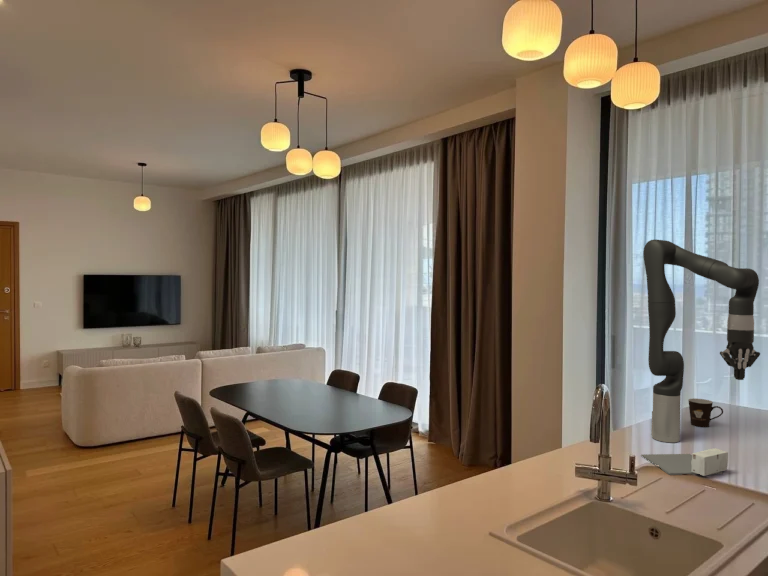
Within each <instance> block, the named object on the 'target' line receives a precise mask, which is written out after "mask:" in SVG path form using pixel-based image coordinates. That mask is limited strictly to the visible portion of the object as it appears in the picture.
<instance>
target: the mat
mask: <svg viewBox="0 0 768 576" xmlns="http://www.w3.org/2000/svg"><path fill="white" fill-rule="evenodd" d="M640 456H641V457H642V456H643V457H644V458H643V457H642V458H643V459H645V458H646V459H647V460H646V459H645V460H646V461H648V460H649V461H651V462H653V463H654V464H656V465H659V467H660V468H661V469H662V470H661V469H660V468H659V469H660V470H661V471H662V472H664V473H666V474H667V475H669V476H683V475H682V474H697V473H694V472H691V469H692V465H691V461H692V453H691V454H690V453H664V454H663V453H660V454H659V453H658V454H656V453H655V454H653V453H652V454H651V453H650V454H648V453H647V454H641V455H640ZM649 461H648V462H649ZM651 462H650V463H651ZM654 464H653V465H654ZM712 475H723V471H721V472H717V473H713V474H712Z"/></svg>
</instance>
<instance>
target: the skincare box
mask: <svg viewBox="0 0 768 576" xmlns="http://www.w3.org/2000/svg"><path fill="white" fill-rule="evenodd" d="M691 455H692V461H691V465H692V469H691V472H694V473H697V474H700V475H699V476H703V477H706V476H708V475H709V476H710V475H714V474H713V473H717V472H723V471H724V472H725V471H727V470H728V463H729V452H728V451H725V450H722V449H719V448H715V447H713V448H710V449H705V450H701V451H697V452H692V453H691Z"/></svg>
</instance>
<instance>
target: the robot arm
mask: <svg viewBox="0 0 768 576" xmlns="http://www.w3.org/2000/svg"><path fill="white" fill-rule="evenodd" d="M643 263H644V269H645V276H646V277H645V278H646V288H647V308H648V309H647V311H648V313H647V314H648V325H649V326H648V327H649V328H648V331H649V335H648V336H649V337H648V339H649V342H648V367H649V371H650V373H651V375H653V376H654V377H655V376H657V377H665V378H664V379H663V380H661V381H659V382H656V383H655V384H654V385H653V386H652V411H651V438H652V439H654V440H656V441H659V442H664V443H678V442H680V438H681V435H680V432H681V399H682V398H681V396H682V395H681V393H682V390H683V384H684V372H685V371H684V370H685V362H684V361H685V360H684V358H683V355H682V354H681V353H680V352H679V351H676V350H664V345H665V344H664V343H665V338H666V335H667V333H668V331H669V329H670V328H671V326H672V325H673V323H674V321H675V319H676V315H677V313H676V312H677V311H676V298H675V294H674V292H673V290H672V288H671V286H670V284H669V282H668V281H667V280H668V279H667V277H666V271H665V265H670V266H671V265H672V266H676V267H677V266H678V267H682V268H684V269H686V270H688V271H690V272H692V273H694V274H696V275H698V276H699V277H702V278H706V279H709V280H711V281H714V282H716V283H718V284H720V285H722V286H724V287H726V288H728V289H731V290H735V292H734V295H733V296H731V297H730V299H729V301H728V314H727V324H726V327H727V328H726V341H727V345H726V347H725V348H726V349H724V350H723V351H722V350H721V351H719V355H720V356H721V357H722V359H723V360H724V362H725V363H726V365H727V366H729V367H732V368H733V378H735V380H737V381H744V379H745V377H746V369H747V368H751V367H752V366H753V365H754V364H755V362H756V361H757V359H758V358H759V357H760V356H761V352H759V351H756V350H755V349H754V348H755V347H754V345H753V343H754V341H755V318H754V316H755V315H754V312H755V309H754V307H755V306H754V302H755V300H756V296H757V293H758V289H759V283H760V279H759V274H758V273H757V271H755V270H754V269H751V268H747V267H746V268H744V267H743V268H737V267H734V266H731V265H728V264H727V262H724V261H721V260H719V259H715V258H711V257H709V256H704V255H702V254H699V253H695V252H691V251H689V250H687V249H686V248H683V247H681V246H679V245H678V244H676V243H674V242H671V241H669V240H665V239H650V240H649V241H647V242H646V243H645V245H644V247H643Z"/></svg>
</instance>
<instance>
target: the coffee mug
mask: <svg viewBox="0 0 768 576" xmlns="http://www.w3.org/2000/svg"><path fill="white" fill-rule="evenodd" d="M688 408H689V417H690V424H691V426H693V427H696V428H709V427H710V422H711V421H712V420H715V419H717V418H720V417H721V416H722V415H723V414H724V409H723V408H722V407H720V406H718V405H715V406H713V401H712V400H709V399H703V398H695V397H694V398H689V399H688ZM716 408H717V409H719V410H720V411H721V413H720V414H718V415H717V416H715V417H713V418H711V415H712V412H713V410H714V409H716Z"/></svg>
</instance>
